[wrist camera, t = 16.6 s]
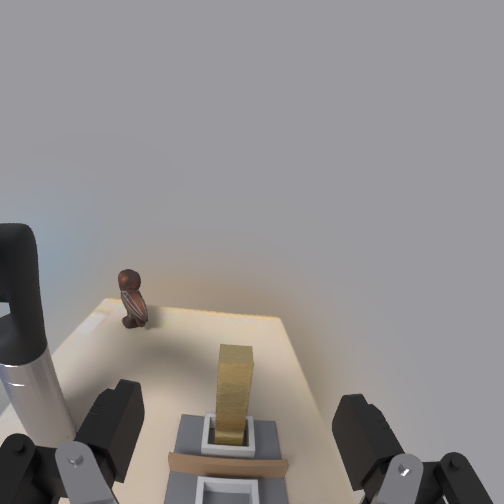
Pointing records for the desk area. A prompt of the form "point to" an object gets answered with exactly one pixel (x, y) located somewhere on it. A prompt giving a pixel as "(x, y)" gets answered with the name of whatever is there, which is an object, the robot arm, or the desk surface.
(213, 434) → the plate
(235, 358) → the post
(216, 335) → the desk surface
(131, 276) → the figurine
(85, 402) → the desk surface
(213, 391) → the desk surface
